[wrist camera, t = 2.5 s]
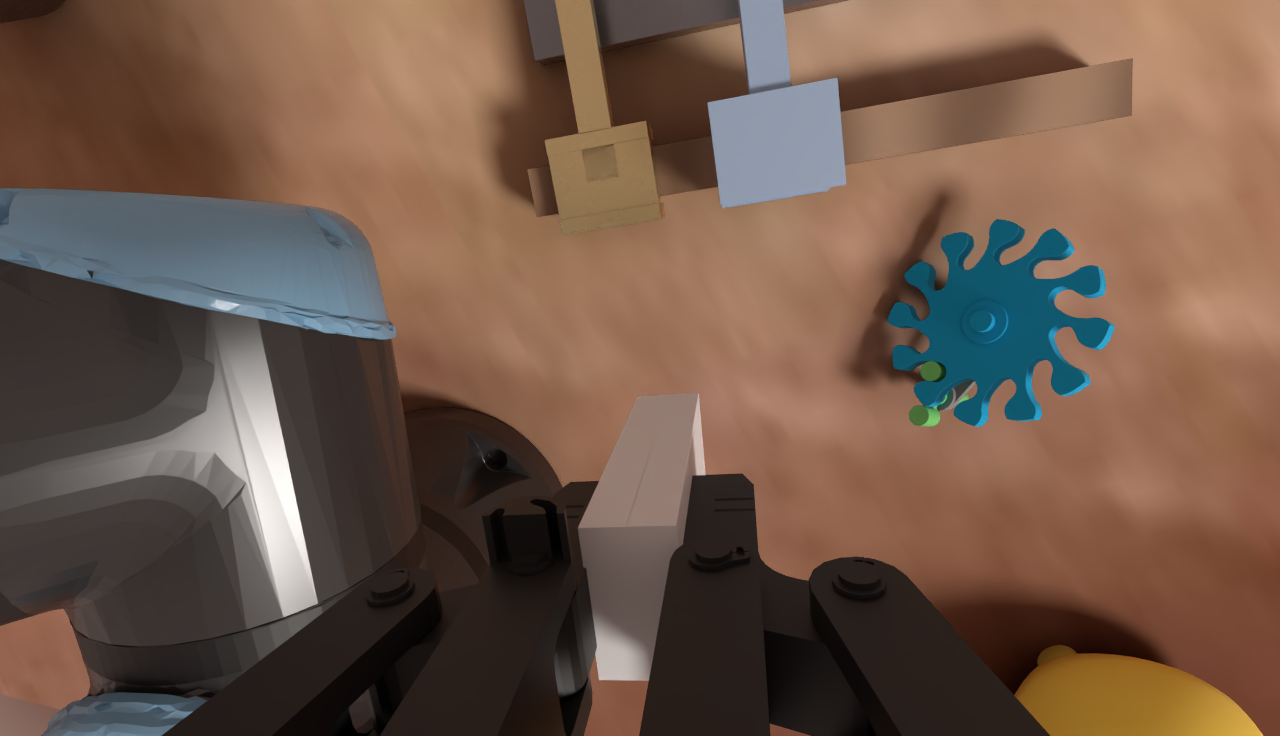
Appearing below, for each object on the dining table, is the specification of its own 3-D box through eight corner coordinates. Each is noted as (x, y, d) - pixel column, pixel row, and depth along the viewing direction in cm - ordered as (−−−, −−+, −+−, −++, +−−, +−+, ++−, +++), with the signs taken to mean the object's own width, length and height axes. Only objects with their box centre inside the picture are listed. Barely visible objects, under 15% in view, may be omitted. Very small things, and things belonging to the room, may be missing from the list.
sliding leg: (722, 206, 34) (721, 211, 27) (686, -69, 31) (675, -144, 24) (821, 190, 33) (846, 191, 26) (795, -94, 30) (815, -180, 23)
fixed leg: (574, 232, 35) (562, 235, 33) (525, -31, 32) (508, -49, 30) (665, 217, 34) (660, 219, 32) (624, -54, 31) (615, -76, 29)
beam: (551, 214, 37) (536, 217, 34) (542, 170, 36) (527, 169, 33) (1095, 122, 32) (1131, 115, 29) (1095, 70, 32) (1132, 58, 29)
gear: (969, 179, 32) (1167, 291, 26) (1013, 210, 36) (1195, 314, 30) (834, 356, 37) (976, 487, 31) (887, 366, 41) (1021, 484, 35)
